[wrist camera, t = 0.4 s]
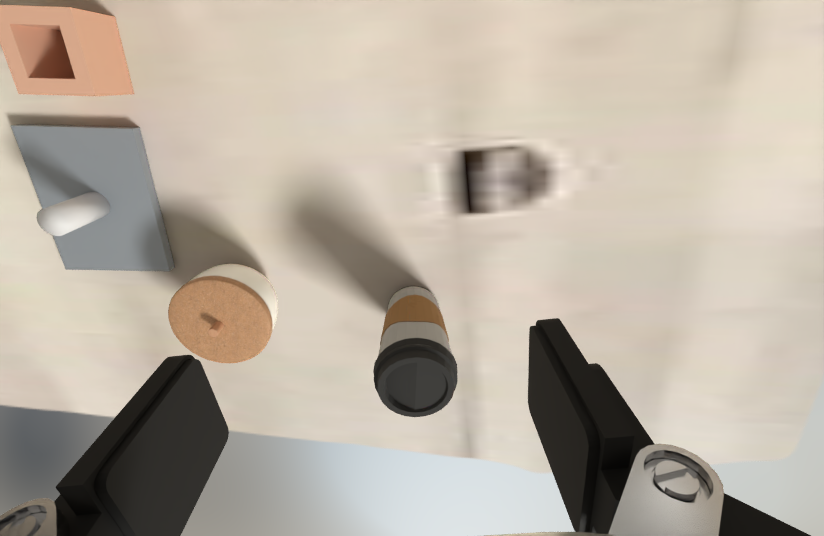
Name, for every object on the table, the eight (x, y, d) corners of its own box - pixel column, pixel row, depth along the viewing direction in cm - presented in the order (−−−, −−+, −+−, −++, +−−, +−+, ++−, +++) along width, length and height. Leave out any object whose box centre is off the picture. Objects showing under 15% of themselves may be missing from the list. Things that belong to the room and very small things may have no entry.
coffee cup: (380, 332, 53) (372, 420, 39) (380, 276, 49) (371, 351, 36) (443, 333, 53) (456, 421, 39) (448, 278, 49) (464, 353, 36)
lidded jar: (204, 320, 52) (164, 367, 43) (198, 244, 47) (152, 280, 39) (288, 330, 52) (265, 378, 44) (290, 256, 48) (265, 294, 39)
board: (21, 124, 41) (-52, 133, 35) (139, 127, 41) (89, 136, 35) (73, 265, 48) (21, 294, 41) (174, 266, 48) (138, 296, 42)
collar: (42, 14, 37) (-14, 4, 32) (114, 16, 37) (70, 7, 32) (66, 92, 40) (18, 94, 35) (134, 93, 40) (95, 96, 35)
